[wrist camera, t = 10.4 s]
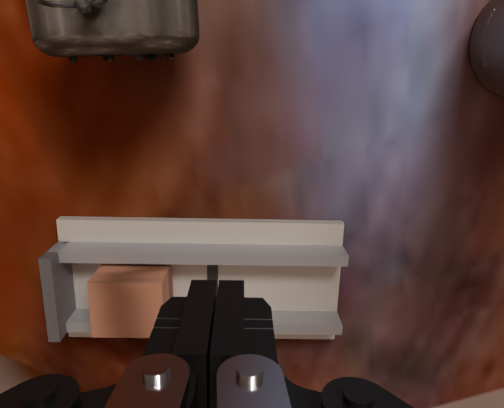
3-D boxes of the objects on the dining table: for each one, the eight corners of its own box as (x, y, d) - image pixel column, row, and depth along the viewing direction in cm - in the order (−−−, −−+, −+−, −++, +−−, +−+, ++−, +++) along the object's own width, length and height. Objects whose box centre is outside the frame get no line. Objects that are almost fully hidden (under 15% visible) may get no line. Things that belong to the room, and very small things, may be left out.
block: (172, 259, 39) (162, 283, 35) (173, 307, 41) (164, 338, 36) (106, 258, 39) (86, 282, 34) (109, 307, 41) (91, 337, 36)
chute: (341, 220, 40) (355, 239, 35) (332, 333, 43) (343, 364, 39) (60, 216, 39) (35, 234, 35) (72, 330, 43) (50, 362, 38)
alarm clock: (204, -6, 35) (171, -78, 19) (208, 64, 36) (180, 51, 21) (68, -2, 35) (-78, -71, 19) (77, 68, 36) (-50, 58, 20)
